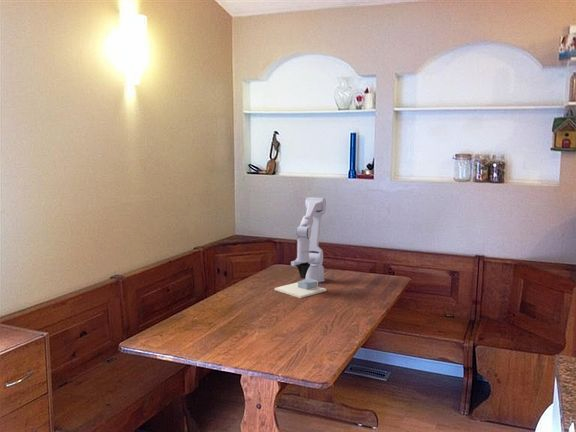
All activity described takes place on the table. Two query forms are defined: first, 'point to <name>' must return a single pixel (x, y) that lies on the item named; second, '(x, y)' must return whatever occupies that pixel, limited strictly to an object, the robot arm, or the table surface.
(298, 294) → the tile
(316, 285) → the block
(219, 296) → the table surface
